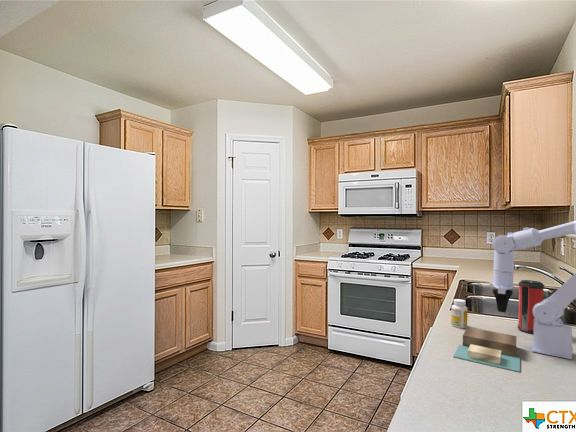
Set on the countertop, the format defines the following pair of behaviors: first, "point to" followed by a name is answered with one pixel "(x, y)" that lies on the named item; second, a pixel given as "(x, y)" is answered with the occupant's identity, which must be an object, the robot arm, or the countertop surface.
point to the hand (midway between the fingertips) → (501, 311)
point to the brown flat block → (490, 340)
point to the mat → (506, 362)
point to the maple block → (484, 354)
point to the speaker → (528, 303)
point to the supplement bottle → (459, 314)
